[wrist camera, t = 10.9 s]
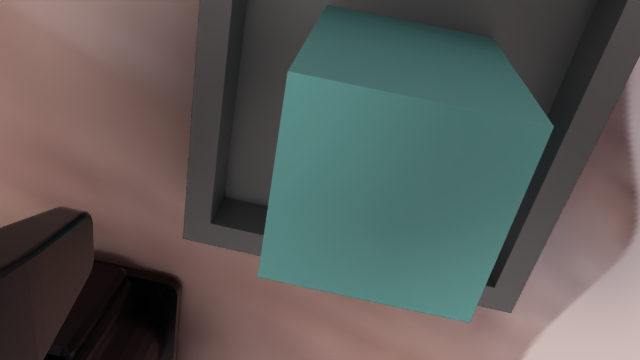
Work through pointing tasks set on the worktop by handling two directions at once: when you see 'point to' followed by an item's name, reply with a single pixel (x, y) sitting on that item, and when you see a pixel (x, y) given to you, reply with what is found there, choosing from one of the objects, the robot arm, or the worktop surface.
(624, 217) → the worktop surface
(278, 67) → the parts tray
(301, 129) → the teal block
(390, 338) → the worktop surface
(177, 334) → the robot arm
